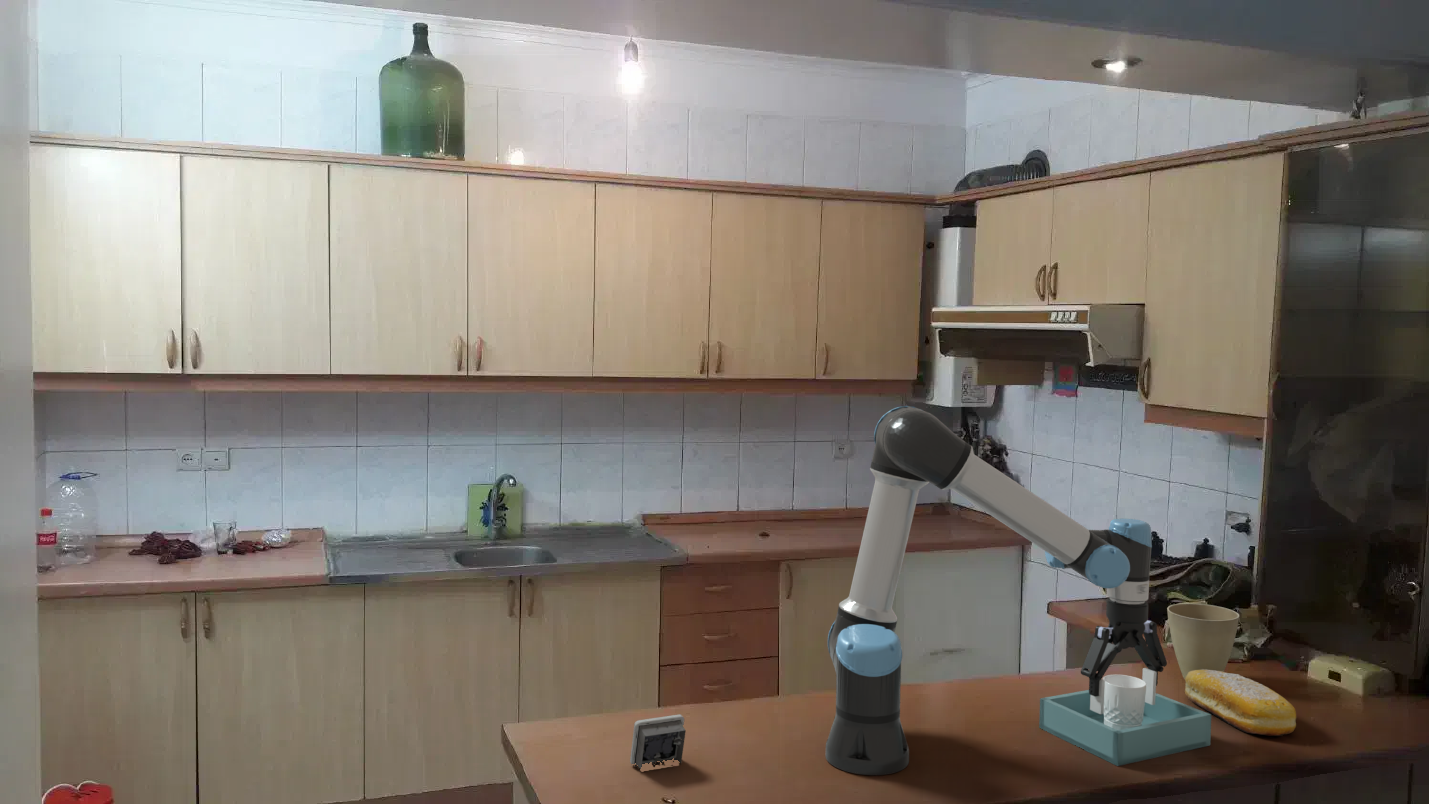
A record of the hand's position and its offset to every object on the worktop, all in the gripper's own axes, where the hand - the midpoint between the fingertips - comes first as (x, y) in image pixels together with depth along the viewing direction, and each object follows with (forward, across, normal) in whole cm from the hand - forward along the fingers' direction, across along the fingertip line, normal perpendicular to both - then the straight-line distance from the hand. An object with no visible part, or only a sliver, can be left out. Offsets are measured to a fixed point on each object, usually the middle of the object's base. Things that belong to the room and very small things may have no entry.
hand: (1122, 707), depth 200 cm
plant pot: (+6, +43, +18) cm, 47 cm away
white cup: (+5, 0, 0) cm, 5 cm away
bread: (+6, +31, -1) cm, 31 cm away
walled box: (+6, 0, 0) cm, 6 cm away
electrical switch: (+7, -88, +23) cm, 91 cm away
